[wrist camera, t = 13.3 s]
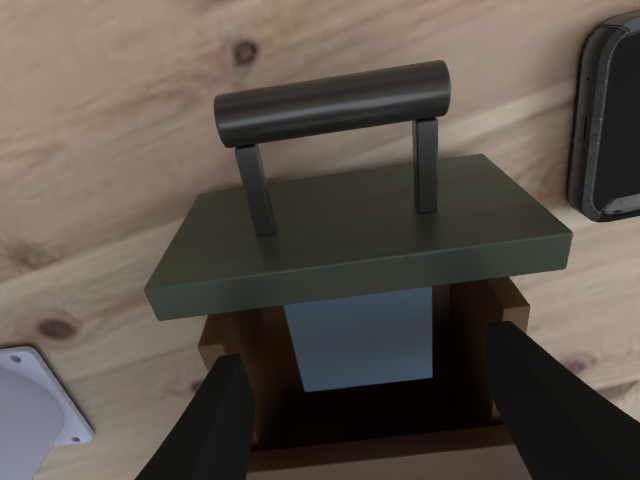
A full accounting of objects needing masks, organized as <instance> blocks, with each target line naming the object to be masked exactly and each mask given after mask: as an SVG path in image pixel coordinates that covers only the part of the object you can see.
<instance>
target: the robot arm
mask: <svg viewBox="0 0 640 480" xmlns="http://www.w3.org/2000/svg"><path fill="white" fill-rule="evenodd" d="M484 375H485V378H486V381H487V384H488V387H489V389H490V392H491V395H492V397H493V400H494V403H495V405H496V408H497V410H498V412H499V414H500V416H501V418H502V420H503V422H504V424H505V426H506V428H507V430H508V432H509V434H510V436H511V438H512V440H513V442H514V444H515V446H516V448H517V450H518V452H519V454H520V456H521V458H522V460H523V462H524V464H525V466H526V468H527V470H528V472H529V474H530V476H531V478H532V480H640V423H639V422H638V421H636V420H635V419H633V418H632V417H630V416H629V415H628V414H626V413H625V412H623V411H622V410H620V409H619V408H618V407H616V406H615V405H614V404H612V403H611V402H609V401H608V400H607V399H605V398H604V397H603V396H601V395H600V394H599V393H597V392H596V391H595V390H593V389H592V388H591V387H589V386H588V385H587V384H586V383H584V382H583V381H582V380H580V379H579V378H578V377H577V376H576V375H574V374H573V373H572V372H571V371H569V370H568V369H567V368H566V367H564V366H563V365H562V364H561V363H559V362H558V361H557V360H556V359H555V358H553V357H552V356H551V355H550V354H549V353H547V352H546V351H545V350H544V349H543V348H542V347H540V346H539V345H538V344H537V343H536V342H535V341H533V340H532V339H531V338H530V337H529V336H528V335H527V334H525V333H524V332H523V331H522V330H521V329H520V328H519V327H517V326H516V325H515V324H514V323H513V322H511V321H502V322H493V323H488V330H487V341H486V352H485V363H484ZM254 417H255V397H254V394H253V391H252V388H251V385H250V382H249V379H248V376H247V374H246V371H245V368H244V365H243V362H242V359H241V356H240V353H239V354H231V355H223V356H219V357H218V358H217V360H216V361H215V363H214V364H213V366H212V368H211V369H210V371H209V373H208V374H207V376H206V378H205V379H204V381H203V383H202V384H201V386H200V388H199V389H198V391H197V392H196V394H195V396H194V397H193V399H192V400H191V402H190V403H189V405H188V406H187V408H186V409H185V411H184V413H183V414H182V416H181V417H180V419H179V420H178V422H177V423H176V425H175V426H174V427H173V429H172V430H171V432H170V433H169V434H168V436H167V437H166V439H165V440H164V441H163V443H162V444H161V446H160V447H159V448H158V450H157V451H156V453H155V454H154V455H153V457H152V458H151V459H150V460H149V462H148V463H147V464H146V466H145V467H144V468H143V469H142V471H141V472H140V473H139V475H138V476H137V477H136V478H135V479H134V480H246V476H247V470H248V465H249V459H250V453H251V446H252V440H253V433H254ZM93 437H94V432H93V431H92V429H91V428H90V426H89V425H88V423H87V422H86V421H85V419H84V418H83V416H82V415H81V413H80V412H79V411H78V409H77V408H76V406H75V405H74V403H73V402H72V401H71V399H70V398H69V396H68V395H67V393H66V392H65V391H64V389H63V388H62V386H61V385H60V383H59V382H58V381H57V379H56V378H55V376H54V375H53V373H52V372H51V371H50V369H49V368H48V366H47V365H46V363H45V362H44V361H43V359H42V358H41V356H40V355H39V353H38V352H37V351H36V350H35V349H34V348H32V347H28V346H22V347H15V348H7V349H0V480H33V478H34V476H35V474H36V473H37V471H38V469H39V468H40V466H41V464H42V462H43V461H44V459H45V457H46V456H47V454H48V452H49V450H50V449H51V447H54V446H62V445H71V444H80V443H88V442H90V441H92V439H93Z"/></svg>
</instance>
